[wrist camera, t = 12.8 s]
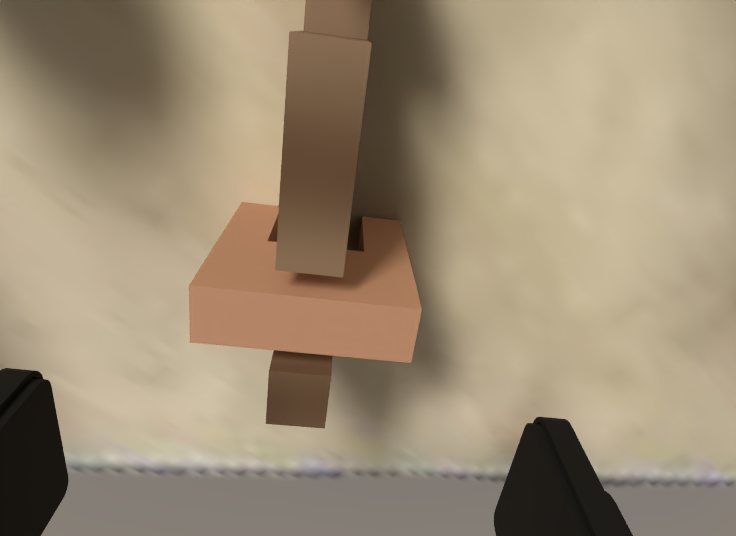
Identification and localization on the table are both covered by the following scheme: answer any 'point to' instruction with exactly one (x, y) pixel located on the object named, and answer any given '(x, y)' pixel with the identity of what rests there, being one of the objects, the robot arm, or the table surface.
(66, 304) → the table surface
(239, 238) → the slotted plate
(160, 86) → the table surface
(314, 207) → the walnut e-shaped block
